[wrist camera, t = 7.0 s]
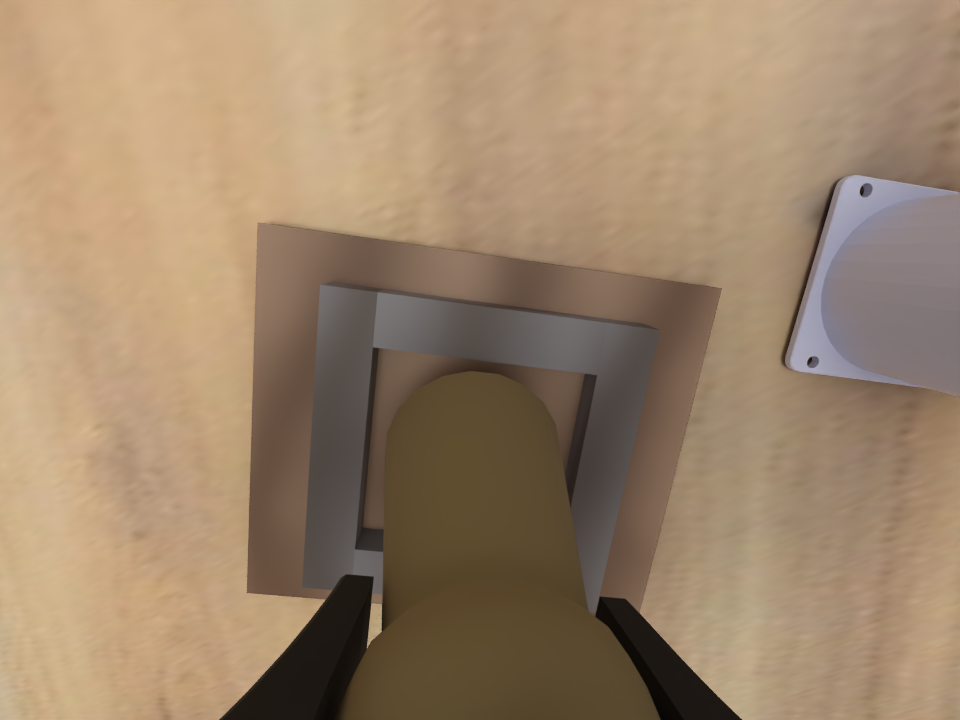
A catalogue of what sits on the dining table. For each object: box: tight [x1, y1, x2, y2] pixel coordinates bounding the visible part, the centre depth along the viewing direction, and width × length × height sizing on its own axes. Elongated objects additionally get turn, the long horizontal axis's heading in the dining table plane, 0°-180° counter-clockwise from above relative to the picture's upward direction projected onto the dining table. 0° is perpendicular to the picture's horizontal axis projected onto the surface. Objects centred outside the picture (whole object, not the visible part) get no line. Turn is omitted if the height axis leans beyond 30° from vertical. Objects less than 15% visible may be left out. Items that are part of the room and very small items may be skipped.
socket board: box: [247, 223, 722, 616], centre depth 19 cm, size 18×16×2 cm
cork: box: [334, 371, 661, 720], centre depth 11 cm, size 6×6×11 cm
